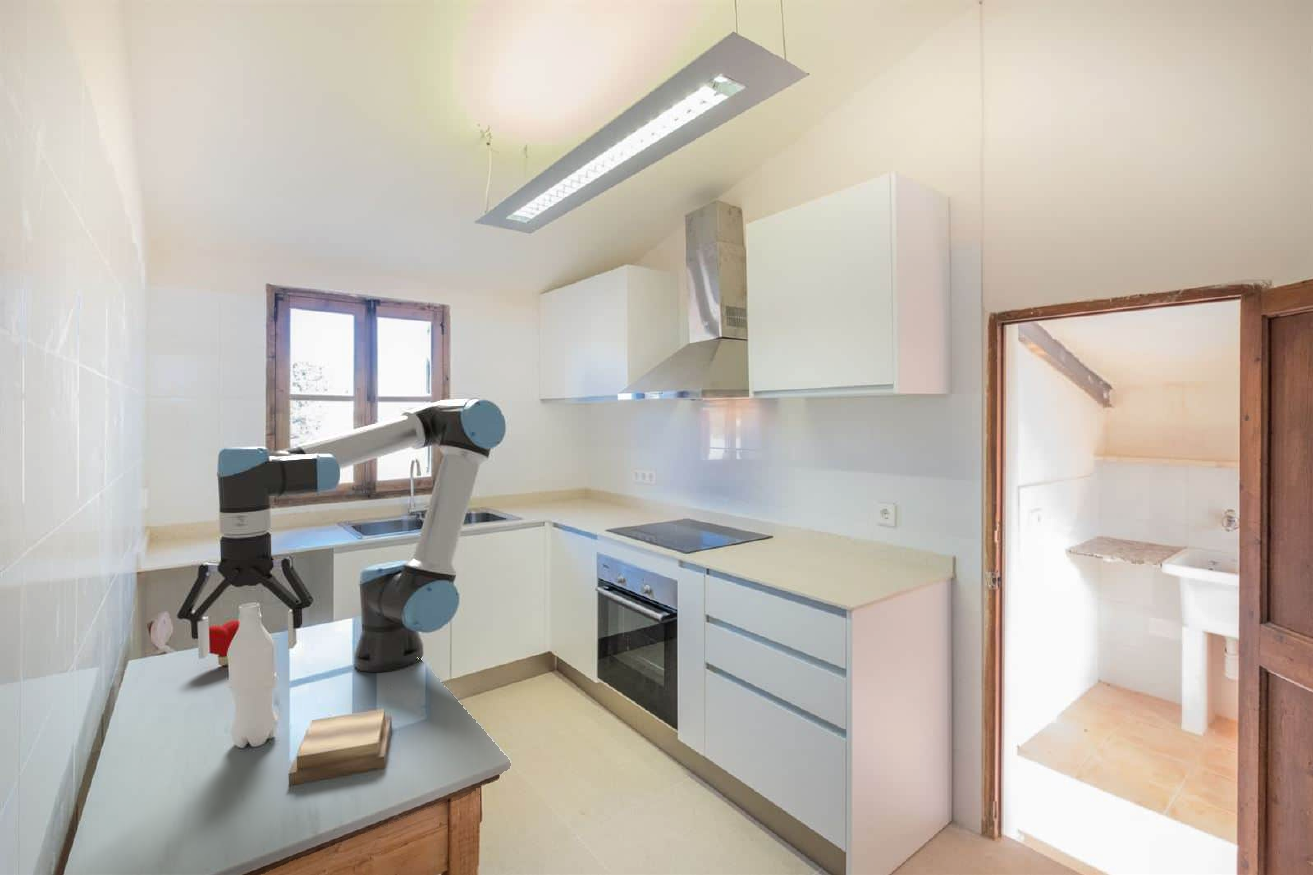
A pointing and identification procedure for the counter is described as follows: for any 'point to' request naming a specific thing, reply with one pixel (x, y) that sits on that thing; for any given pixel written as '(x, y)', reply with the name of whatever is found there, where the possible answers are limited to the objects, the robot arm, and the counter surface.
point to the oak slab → (342, 738)
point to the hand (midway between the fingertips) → (249, 650)
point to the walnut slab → (343, 763)
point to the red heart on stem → (222, 640)
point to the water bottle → (252, 679)
